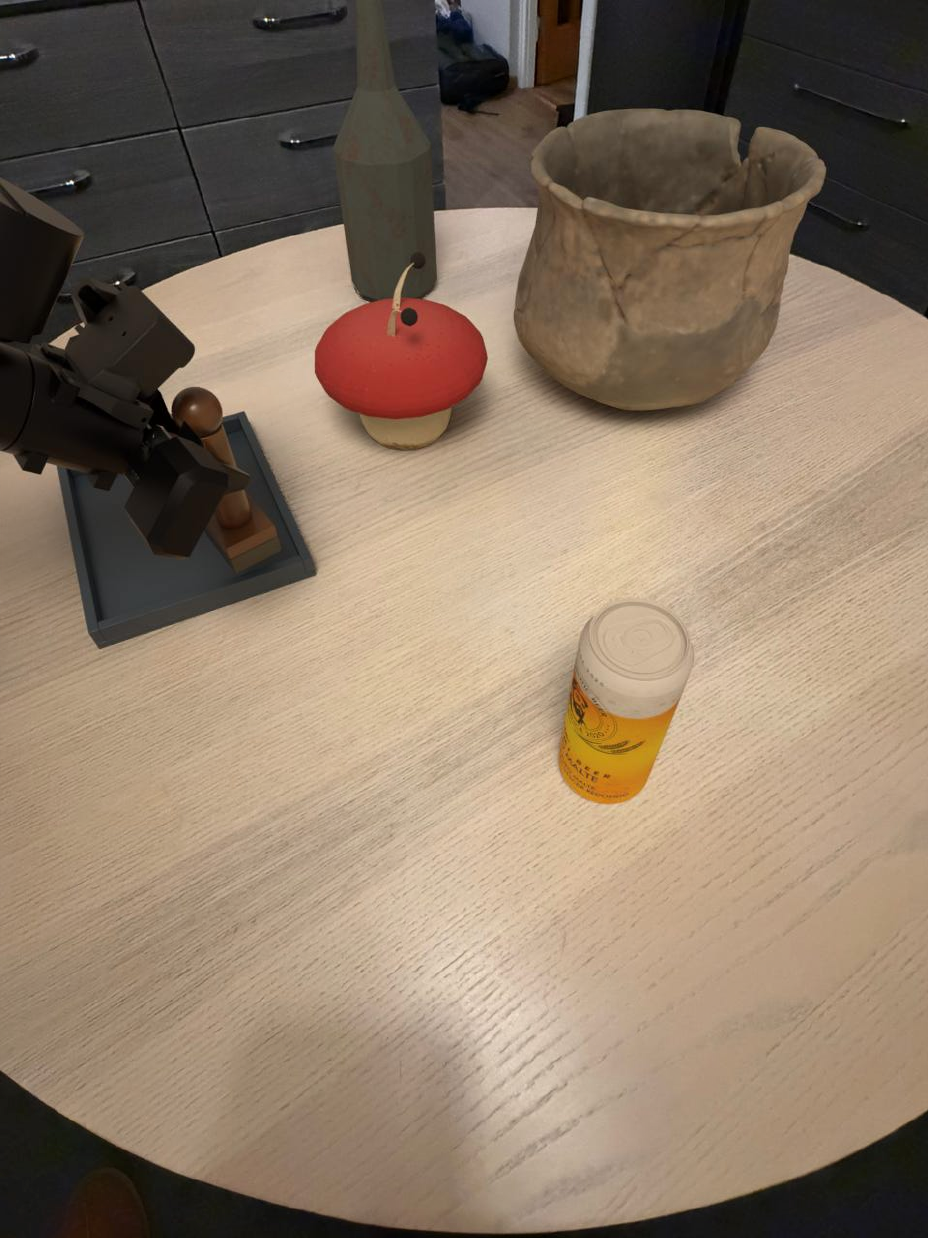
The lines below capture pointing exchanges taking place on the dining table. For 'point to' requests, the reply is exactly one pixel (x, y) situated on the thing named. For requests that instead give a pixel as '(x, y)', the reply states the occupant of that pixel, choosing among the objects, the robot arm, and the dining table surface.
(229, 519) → the wooden ball stamp
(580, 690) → the beer can
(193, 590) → the tray
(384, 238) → the bottle
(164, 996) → the dining table surface
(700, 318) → the pot
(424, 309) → the mushroom
